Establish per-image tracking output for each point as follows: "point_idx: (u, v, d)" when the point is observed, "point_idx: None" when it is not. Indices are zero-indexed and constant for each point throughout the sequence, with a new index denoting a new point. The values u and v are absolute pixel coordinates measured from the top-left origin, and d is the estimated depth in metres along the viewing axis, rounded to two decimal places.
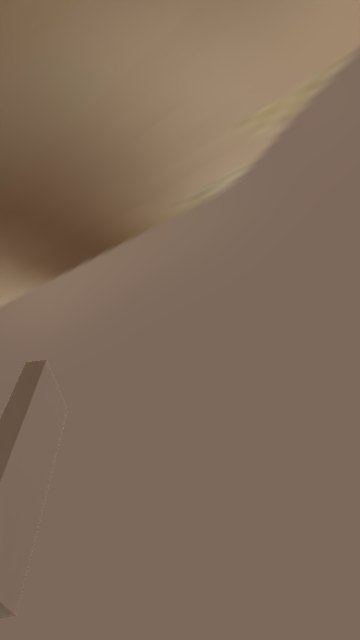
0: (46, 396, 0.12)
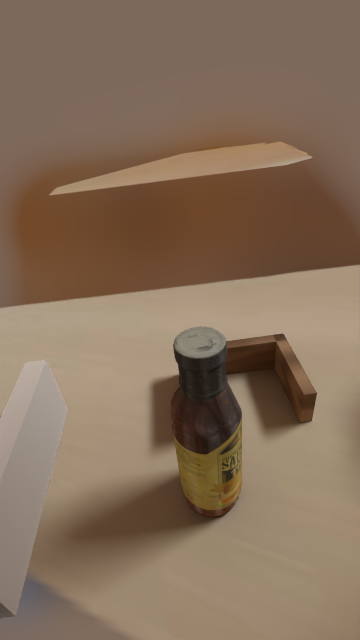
0: (46, 396, 0.12)
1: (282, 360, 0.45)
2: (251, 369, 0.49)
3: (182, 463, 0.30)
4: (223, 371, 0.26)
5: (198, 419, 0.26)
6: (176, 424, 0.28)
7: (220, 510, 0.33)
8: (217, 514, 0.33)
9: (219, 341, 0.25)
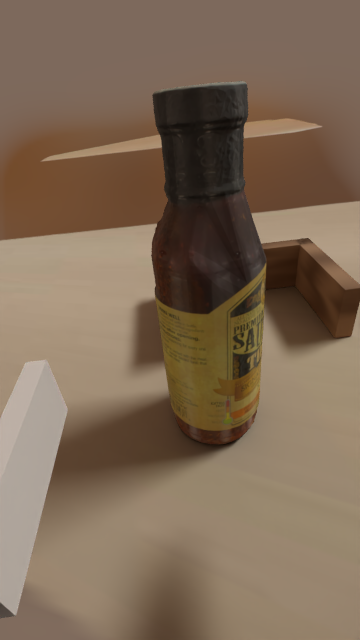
0: (46, 396, 0.12)
1: (308, 265, 0.34)
2: (265, 287, 0.38)
3: (169, 347, 0.19)
4: (240, 149, 0.15)
5: (196, 241, 0.15)
6: (160, 263, 0.17)
7: (227, 433, 0.21)
8: (223, 440, 0.22)
9: None
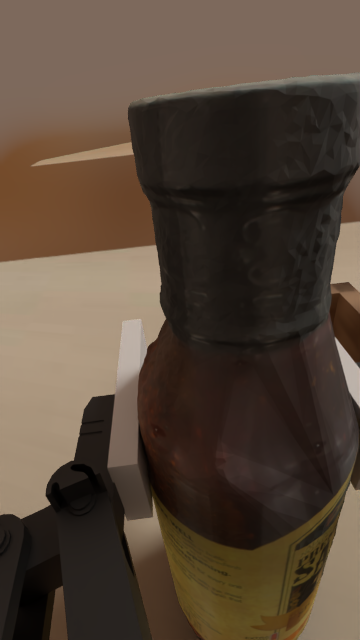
0: (143, 349, 0.13)
1: (353, 322, 0.26)
2: None
3: (173, 552, 0.11)
4: (337, 234, 0.06)
5: (231, 433, 0.07)
6: (152, 446, 0.08)
7: None
8: None
9: None
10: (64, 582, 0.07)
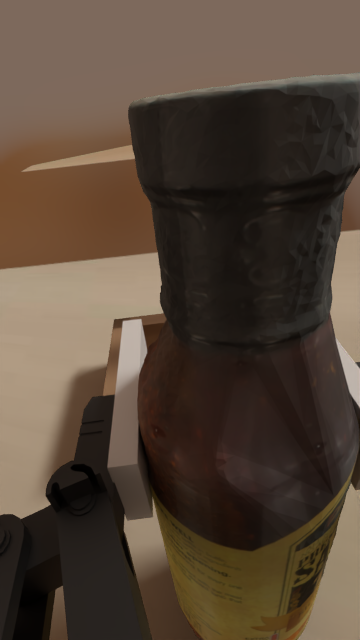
0: (143, 349, 0.13)
1: None
2: None
3: (173, 553, 0.11)
4: (338, 235, 0.06)
5: (231, 433, 0.07)
6: (152, 446, 0.08)
7: None
8: None
9: None
10: (64, 581, 0.07)
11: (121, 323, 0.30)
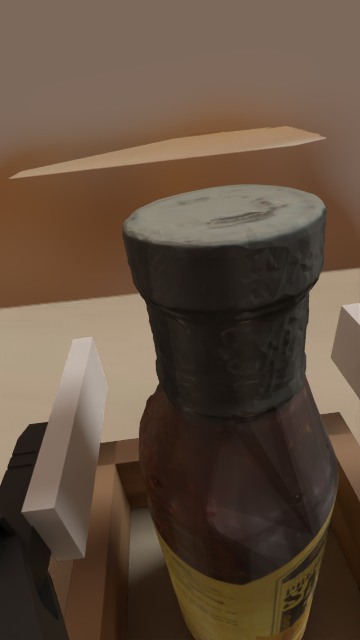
0: (94, 370, 0.13)
1: (344, 493, 0.17)
2: None
3: (175, 579, 0.12)
4: (306, 322, 0.07)
5: (219, 490, 0.08)
6: (152, 494, 0.09)
7: None
8: None
9: (297, 200, 0.06)
10: None
11: (102, 454, 0.19)
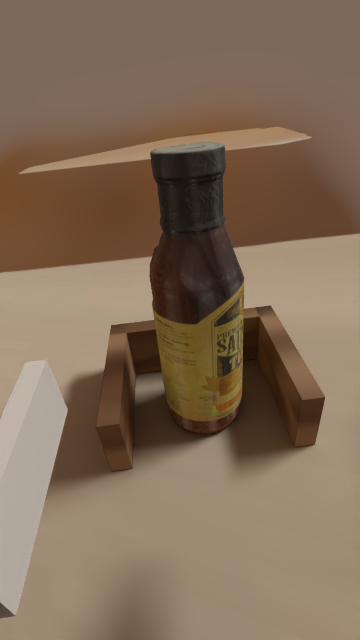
0: (46, 396, 0.12)
1: (267, 345, 0.28)
2: None
3: (165, 351, 0.23)
4: (220, 194, 0.18)
5: (185, 267, 0.19)
6: (156, 283, 0.20)
7: (214, 423, 0.25)
8: (211, 429, 0.26)
9: (215, 144, 0.18)
10: None
11: (118, 329, 0.30)
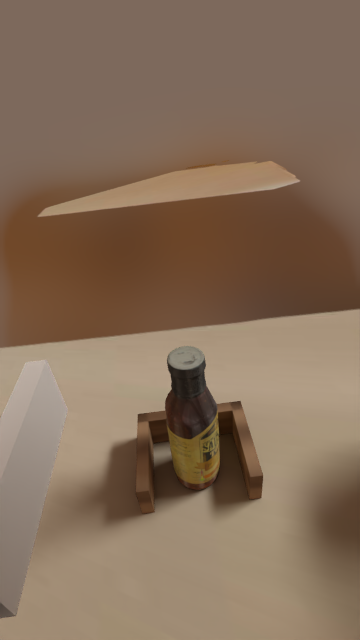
0: (46, 396, 0.12)
1: (236, 431, 0.46)
2: None
3: (173, 447, 0.40)
4: (202, 378, 0.36)
5: (185, 413, 0.36)
6: (169, 417, 0.38)
7: (202, 484, 0.43)
8: (200, 487, 0.43)
9: (199, 357, 0.35)
10: None
11: (142, 418, 0.48)
